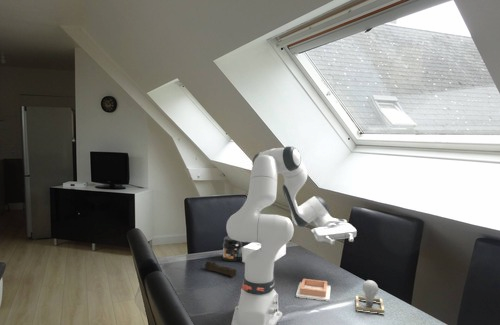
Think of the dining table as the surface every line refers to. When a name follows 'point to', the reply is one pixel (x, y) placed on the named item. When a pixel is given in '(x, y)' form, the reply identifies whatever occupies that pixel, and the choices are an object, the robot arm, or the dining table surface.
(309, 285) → the socket
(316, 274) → the dining table surface
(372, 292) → the lightbulb
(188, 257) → the dining table surface
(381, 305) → the square wooden frame
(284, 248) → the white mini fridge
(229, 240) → the supplement container
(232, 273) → the hand tool
